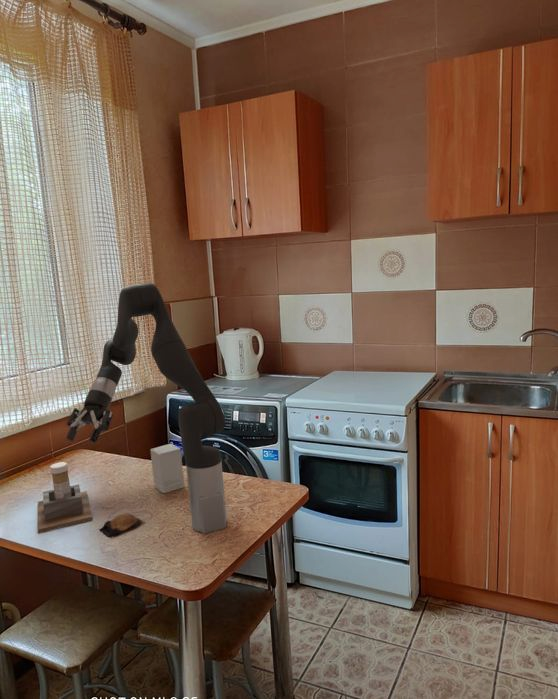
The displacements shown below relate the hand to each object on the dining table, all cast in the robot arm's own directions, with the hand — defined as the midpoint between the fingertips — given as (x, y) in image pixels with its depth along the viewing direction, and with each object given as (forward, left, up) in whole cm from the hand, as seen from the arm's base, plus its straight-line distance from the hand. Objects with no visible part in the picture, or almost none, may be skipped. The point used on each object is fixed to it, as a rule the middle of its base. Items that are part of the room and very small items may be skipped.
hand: (80, 441), depth 166 cm
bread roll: (-26, -7, -19) cm, 33 cm away
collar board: (-7, +7, -18) cm, 21 cm away
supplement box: (-6, -24, -18) cm, 31 cm away
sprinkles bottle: (-7, +7, -17) cm, 20 cm away
